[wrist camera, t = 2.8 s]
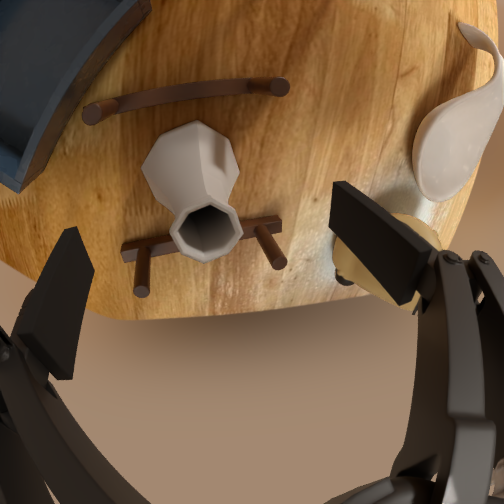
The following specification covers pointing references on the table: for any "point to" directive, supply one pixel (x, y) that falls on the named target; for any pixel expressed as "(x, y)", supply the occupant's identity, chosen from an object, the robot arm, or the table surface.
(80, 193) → the table surface
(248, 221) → the drying rack
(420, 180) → the spoon rest
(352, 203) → the robot arm
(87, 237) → the table surface
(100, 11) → the basin
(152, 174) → the flask
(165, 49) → the table surface
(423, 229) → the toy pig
